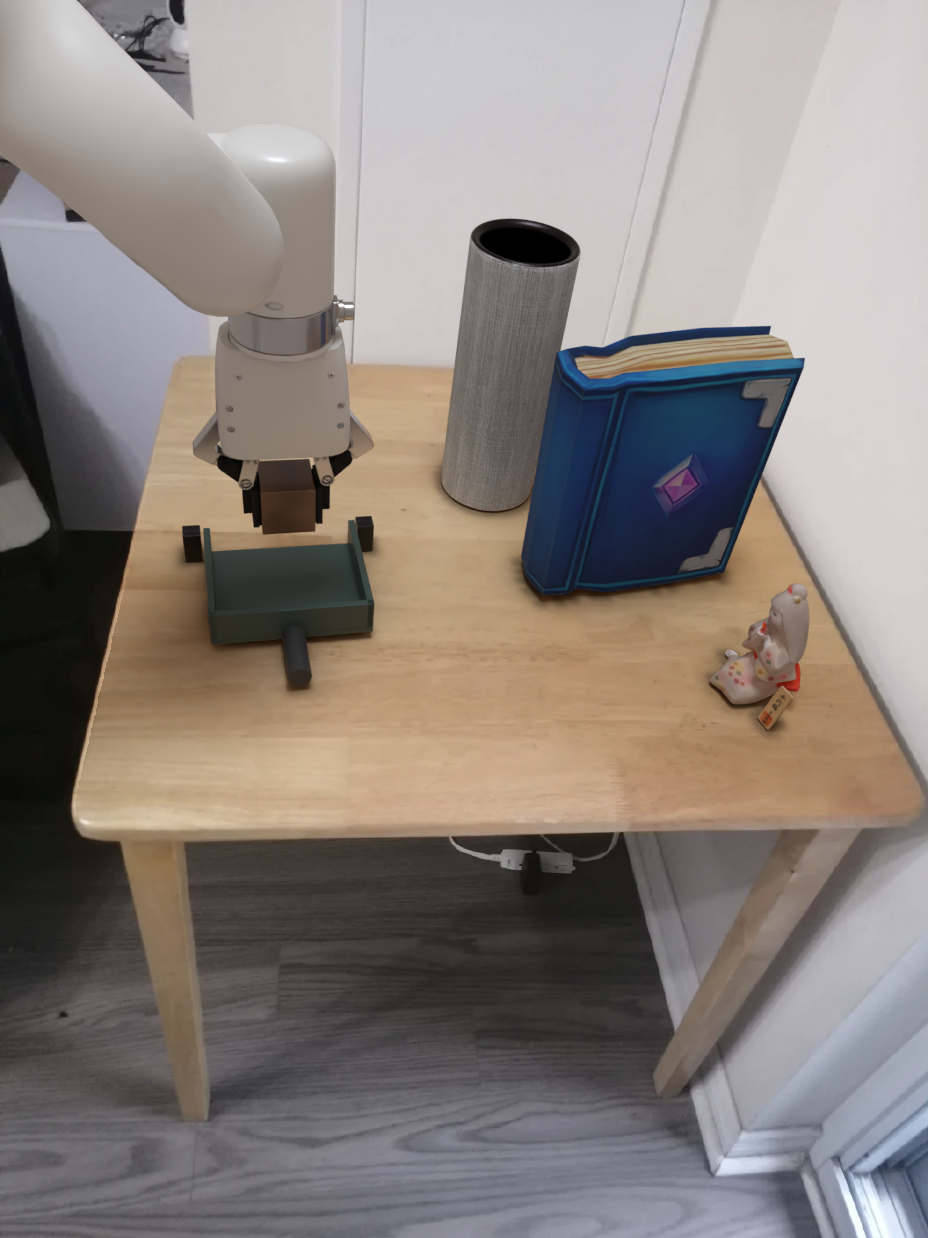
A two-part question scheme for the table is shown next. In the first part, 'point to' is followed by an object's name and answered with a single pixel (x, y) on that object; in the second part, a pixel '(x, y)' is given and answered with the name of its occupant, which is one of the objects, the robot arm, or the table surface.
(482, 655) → the table surface
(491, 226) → the planter
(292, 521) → the block
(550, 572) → the book
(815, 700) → the table surface
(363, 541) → the pair of dark blocks
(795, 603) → the figurine
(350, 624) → the dustpan
